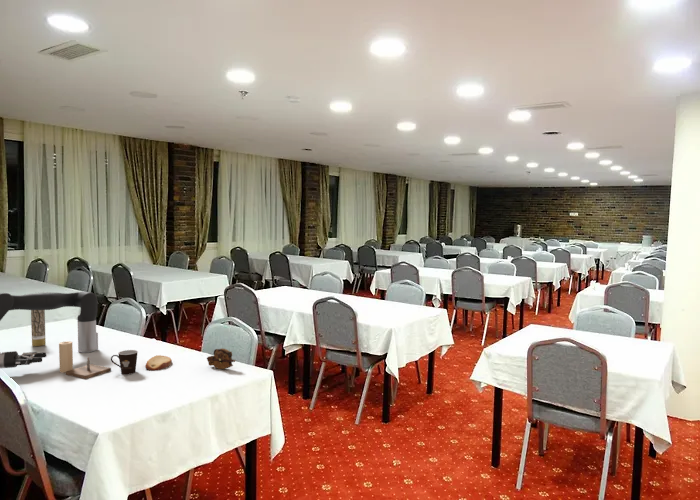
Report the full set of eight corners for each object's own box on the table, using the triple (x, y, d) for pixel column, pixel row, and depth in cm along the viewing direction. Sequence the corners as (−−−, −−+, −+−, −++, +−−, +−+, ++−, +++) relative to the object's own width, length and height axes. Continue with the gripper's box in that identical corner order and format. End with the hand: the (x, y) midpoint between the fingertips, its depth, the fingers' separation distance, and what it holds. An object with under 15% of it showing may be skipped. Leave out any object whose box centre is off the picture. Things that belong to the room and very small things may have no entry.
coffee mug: (141, 370, 253) (141, 351, 252) (129, 376, 245) (128, 355, 244) (123, 368, 257) (122, 348, 256) (109, 373, 249) (109, 353, 248)
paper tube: (39, 347, 296) (38, 304, 294) (29, 346, 297) (27, 303, 295) (48, 344, 302) (47, 302, 300) (38, 343, 304) (37, 301, 302)
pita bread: (162, 358, 277) (162, 351, 277) (183, 364, 267) (183, 357, 267) (131, 366, 262) (131, 358, 262) (152, 372, 252) (152, 365, 252)
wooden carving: (204, 368, 259) (204, 348, 259) (209, 365, 264) (209, 346, 263) (232, 371, 254) (232, 351, 253) (237, 369, 258) (237, 349, 257)
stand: (91, 366, 259) (91, 352, 258) (110, 370, 253) (110, 355, 252) (65, 374, 246) (65, 359, 245) (85, 378, 240) (85, 363, 239)
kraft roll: (67, 368, 255) (67, 340, 254) (75, 370, 253) (74, 342, 252) (57, 371, 250) (56, 343, 250) (64, 373, 248) (64, 344, 247)
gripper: (0, 356, 236) (40, 353, 241) (9, 348, 249) (47, 345, 255) (0, 372, 236) (41, 368, 242) (9, 363, 250) (47, 360, 255)
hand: (44, 357), depth 248 cm, fingers open, 8 cm apart
